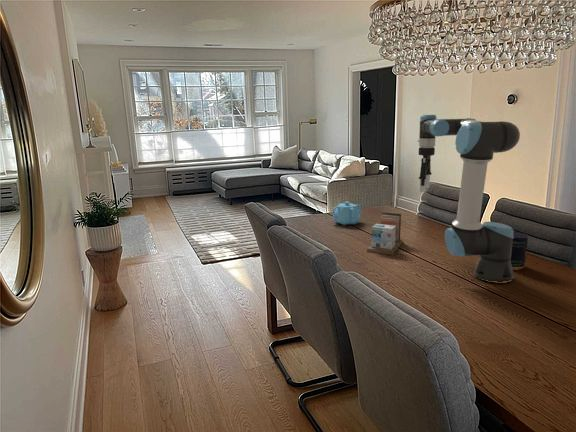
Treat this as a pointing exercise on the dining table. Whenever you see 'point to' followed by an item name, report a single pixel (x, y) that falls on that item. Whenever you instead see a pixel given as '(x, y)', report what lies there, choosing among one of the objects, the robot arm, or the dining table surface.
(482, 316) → the dining table surface
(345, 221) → the decorative pot
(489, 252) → the robot arm
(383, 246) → the light bulb box
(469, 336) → the dining table surface
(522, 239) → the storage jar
